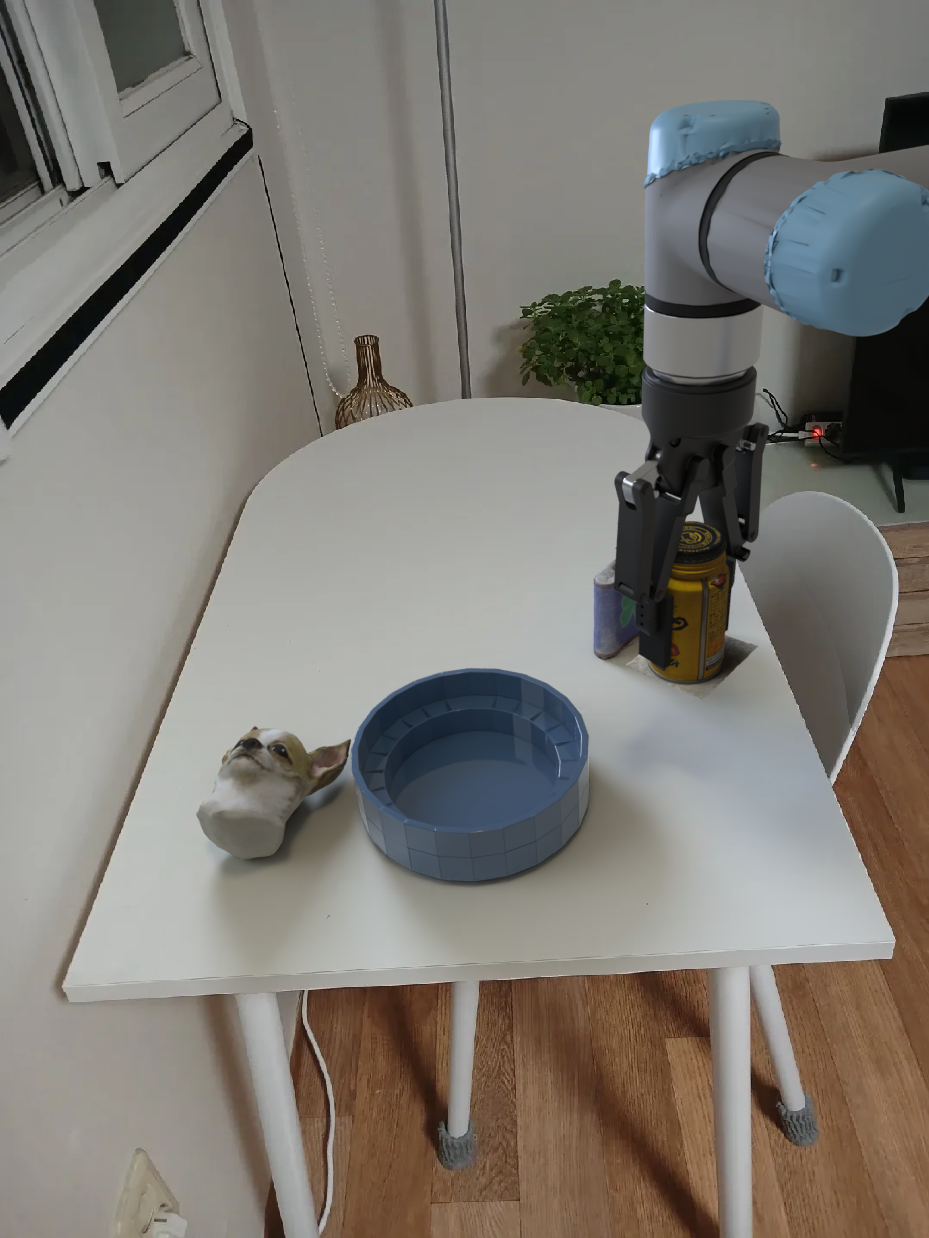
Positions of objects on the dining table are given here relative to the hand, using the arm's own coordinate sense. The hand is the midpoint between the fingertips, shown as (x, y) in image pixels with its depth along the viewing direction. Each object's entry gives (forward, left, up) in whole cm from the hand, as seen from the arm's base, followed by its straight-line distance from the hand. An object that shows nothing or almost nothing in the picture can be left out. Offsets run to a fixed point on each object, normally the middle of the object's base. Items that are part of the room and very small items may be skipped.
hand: (683, 641), depth 77 cm
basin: (+7, +17, -11) cm, 22 cm away
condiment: (0, -1, -2) cm, 2 cm away
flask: (+14, -8, -11) cm, 20 cm away
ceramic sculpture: (+17, +31, -11) cm, 37 cm away
